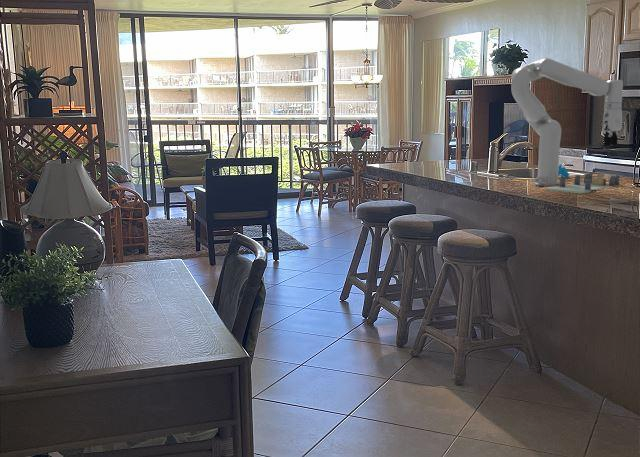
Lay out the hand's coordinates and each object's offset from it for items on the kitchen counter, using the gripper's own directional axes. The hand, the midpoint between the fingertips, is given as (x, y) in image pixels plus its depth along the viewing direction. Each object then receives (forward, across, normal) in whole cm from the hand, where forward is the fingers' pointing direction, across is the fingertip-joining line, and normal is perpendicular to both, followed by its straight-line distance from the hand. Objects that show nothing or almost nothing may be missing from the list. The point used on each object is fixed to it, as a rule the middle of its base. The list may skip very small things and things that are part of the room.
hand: (610, 144), depth 327 cm
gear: (+20, +10, +32) cm, 39 cm away
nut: (+18, -8, 0) cm, 20 cm away
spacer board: (+19, -19, +1) cm, 27 cm away
